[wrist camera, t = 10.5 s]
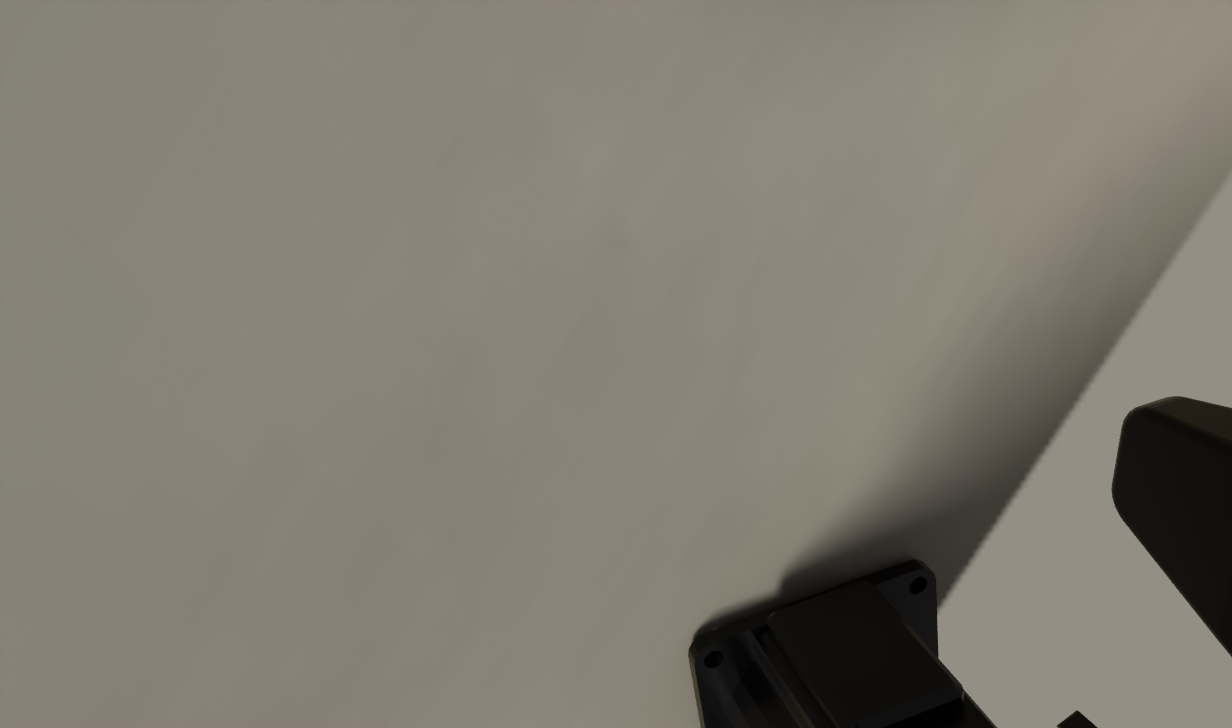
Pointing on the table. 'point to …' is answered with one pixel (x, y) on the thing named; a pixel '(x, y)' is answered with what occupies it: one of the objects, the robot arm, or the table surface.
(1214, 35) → the table surface
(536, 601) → the table surface
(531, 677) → the table surface
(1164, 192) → the table surface
